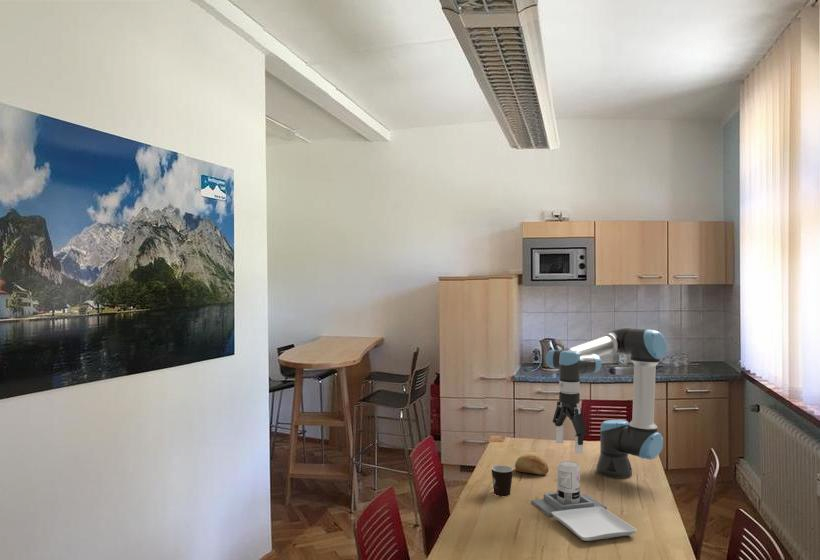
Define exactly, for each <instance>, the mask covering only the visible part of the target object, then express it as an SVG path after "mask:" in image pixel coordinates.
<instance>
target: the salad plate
mask: <svg viewBox="0 0 820 560" xmlns="http://www.w3.org/2000/svg"><path fill="white" fill-rule="evenodd" d="M551 513H552V515H553V516H552V517H554V519H556V520H557V521H558V523H561V524H562V525H563V526H565V527H566V528H567V529H568V530H570V531H571V532H572V533H573V534H575V536H577V537H578V538H579V539H580V540H582V541H584V542H585V541H586V542H591V541H599V540H606V539H607V540H608V539H613V538H620V537H627V536H630V535H634V534H635V533H636V532H637V531H638V530H637V528H636V527H634V526H632V525H631V524H629V523H628V522H626V521H624V520H623V519H622V518H620V517H618V516H617V515H616V514H615V513H612V512H611V511H609V510H608V509H607V510H606V509H605V508H603V507H590V508H580V509H570V510H562V511H554V512H551Z"/></svg>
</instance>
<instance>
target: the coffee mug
mask: <svg viewBox="0 0 820 560" xmlns="http://www.w3.org/2000/svg"><path fill="white" fill-rule="evenodd" d="M490 469H491V477H492V487H493V494H494V495H495V494H496V495H495V496H497V495H499V496H498V497H502V496H504V497H509V496H510V495H511V489H512V483H513V482H512V481H513V473H514V468H513V467H511V466H508V465H506V464H505V465H502V464H499V465H497V464H496V465H493V466H492V467H490ZM508 495H509V496H508Z"/></svg>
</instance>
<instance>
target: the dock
mask: <svg viewBox="0 0 820 560" xmlns="http://www.w3.org/2000/svg"><path fill="white" fill-rule="evenodd" d="M530 503H531V504H533V505H534V506H535V507H536V508H537V509H539V510H540V511H541V512H543V513H544V514H545V515H547V517H550V518H551V517H554V516H553V515H552V513H551V512H554V511H562V510H570V509H580V508H590V507H603V508H605V509H606V510H608V507H607V506H606V505H605V504H603V503H601V502H599V501H598V500H596V499H595V498H593V497H592V496H590V495H589V494H587V493H580V503H577V504H569V505H562V504H561V503H560V502H558V501H557V491H556V492H547V493H543V498H537V499H531V500H530Z"/></svg>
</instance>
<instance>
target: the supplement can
mask: <svg viewBox="0 0 820 560" xmlns="http://www.w3.org/2000/svg"><path fill="white" fill-rule="evenodd" d="M556 475H557V480H556V481H557V485H556V487H557V488H556V489H557V491H556V492H557V501H558V502H560V503H561V504H562V505H569V504H577V503H580V494H581V468H580V466H579V464H578V463H577V462H576V461H575V462H574V461H569V460H564V461H560V462H559V464H558V466H557V474H556Z"/></svg>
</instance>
